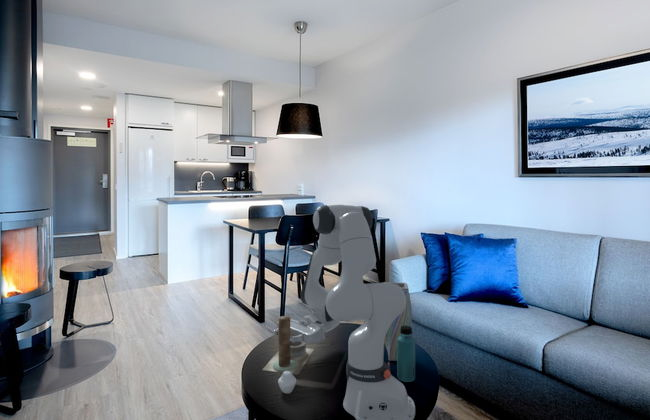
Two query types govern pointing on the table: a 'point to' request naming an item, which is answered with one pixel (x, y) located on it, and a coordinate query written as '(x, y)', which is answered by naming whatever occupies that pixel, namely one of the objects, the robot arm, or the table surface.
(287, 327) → the walnut peg
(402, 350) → the beverage bottle
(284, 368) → the sage pad
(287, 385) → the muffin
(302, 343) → the birch board
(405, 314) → the vase
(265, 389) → the table surface
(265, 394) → the table surface
